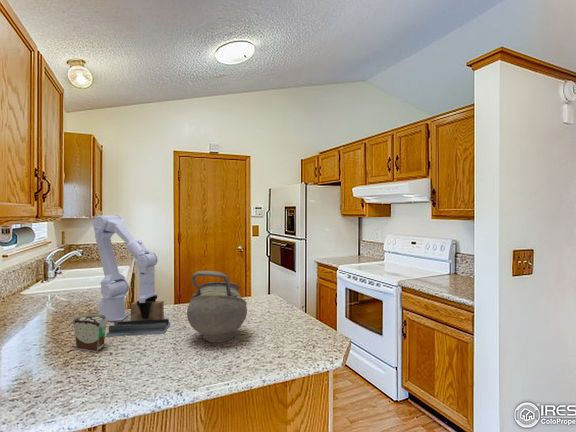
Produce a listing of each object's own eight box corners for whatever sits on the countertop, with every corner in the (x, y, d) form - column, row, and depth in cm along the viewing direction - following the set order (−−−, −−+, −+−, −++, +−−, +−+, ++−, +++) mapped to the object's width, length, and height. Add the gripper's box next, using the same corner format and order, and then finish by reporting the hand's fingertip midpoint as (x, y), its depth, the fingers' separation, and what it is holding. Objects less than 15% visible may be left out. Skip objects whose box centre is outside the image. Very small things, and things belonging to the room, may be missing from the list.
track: (106, 336, 118) (106, 328, 118) (117, 327, 128) (117, 319, 128) (164, 333, 120) (164, 325, 120) (170, 324, 130) (170, 316, 130)
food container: (117, 345, 110) (116, 315, 110) (101, 352, 104) (100, 321, 104) (89, 341, 114) (89, 312, 114) (72, 348, 108) (72, 317, 108)
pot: (218, 355, 101) (217, 274, 101) (174, 342, 112) (173, 269, 112) (258, 334, 118) (258, 265, 118) (217, 324, 129) (216, 261, 129)
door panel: (130, 324, 132) (130, 304, 132) (133, 321, 134) (133, 302, 134) (162, 322, 133) (161, 302, 133) (163, 320, 136) (163, 301, 136)
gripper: (152, 286, 127) (152, 321, 127) (161, 279, 142) (162, 310, 142) (133, 286, 126) (133, 322, 126) (144, 279, 141) (145, 311, 141)
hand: (147, 315), depth 134 cm, fingers open, 6 cm apart
